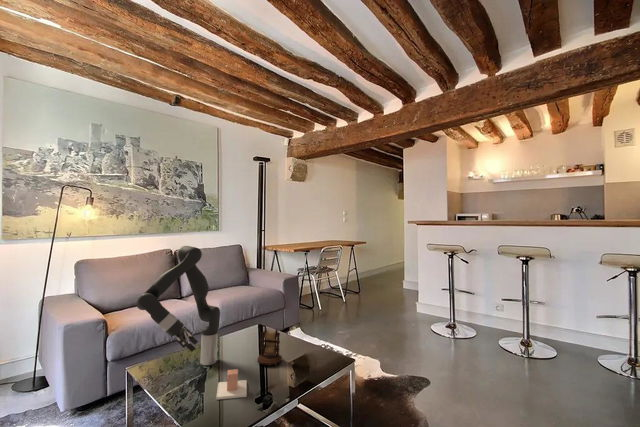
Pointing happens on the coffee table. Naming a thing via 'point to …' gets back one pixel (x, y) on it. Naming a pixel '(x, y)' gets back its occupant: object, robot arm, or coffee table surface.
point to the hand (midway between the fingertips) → (195, 346)
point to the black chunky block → (266, 403)
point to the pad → (225, 394)
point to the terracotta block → (232, 380)
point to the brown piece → (270, 348)
